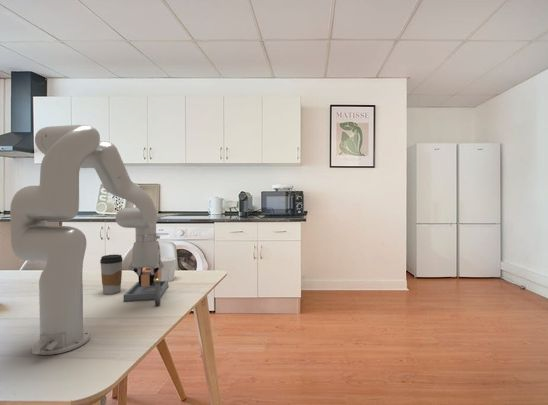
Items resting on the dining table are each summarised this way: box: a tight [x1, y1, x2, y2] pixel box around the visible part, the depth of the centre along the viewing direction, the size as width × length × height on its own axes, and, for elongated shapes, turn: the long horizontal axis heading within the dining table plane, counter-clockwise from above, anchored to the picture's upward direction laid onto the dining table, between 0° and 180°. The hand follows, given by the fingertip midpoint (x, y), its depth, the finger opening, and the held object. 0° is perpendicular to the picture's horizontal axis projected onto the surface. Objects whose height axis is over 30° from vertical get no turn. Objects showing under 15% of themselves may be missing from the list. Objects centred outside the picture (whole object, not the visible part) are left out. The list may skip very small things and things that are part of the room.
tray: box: [123, 281, 169, 303], centre depth 124 cm, size 18×13×2 cm
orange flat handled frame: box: [141, 267, 161, 287], centre depth 124 cm, size 7×13×4 cm, turn 9°
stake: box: [154, 278, 161, 307], centre depth 110 cm, size 3×3×10 cm
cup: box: [157, 256, 177, 283], centre depth 144 cm, size 10×10×10 cm
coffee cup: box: [99, 254, 124, 296], centre depth 125 cm, size 8×8×15 cm
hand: (146, 284), depth 120 cm, fingers closed on orange flat handled frame, 3 cm apart
